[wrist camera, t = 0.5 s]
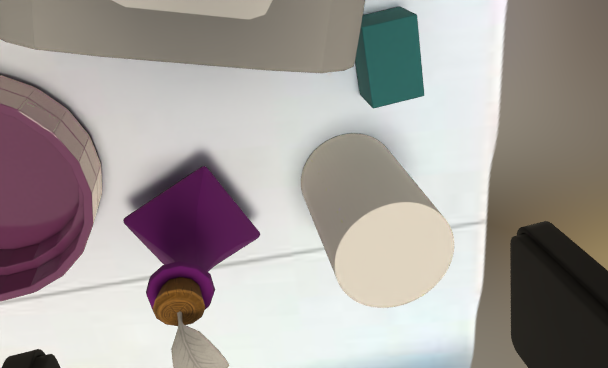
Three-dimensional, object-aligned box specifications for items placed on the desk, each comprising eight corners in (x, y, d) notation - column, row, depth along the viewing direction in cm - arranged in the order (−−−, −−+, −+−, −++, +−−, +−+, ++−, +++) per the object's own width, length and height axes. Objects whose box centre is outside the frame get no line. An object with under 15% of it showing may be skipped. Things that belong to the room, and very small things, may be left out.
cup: (295, 220, 49) (326, 308, 38) (307, 130, 45) (345, 200, 35) (385, 221, 50) (438, 306, 40) (403, 136, 47) (467, 203, 36)
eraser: (348, 18, 42) (361, 27, 39) (400, 6, 42) (417, 14, 39) (359, 94, 45) (372, 109, 42) (408, 82, 45) (424, 96, 42)
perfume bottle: (125, 199, 45) (93, 362, 29) (203, 148, 44) (214, 285, 28) (183, 262, 48) (183, 438, 32) (257, 215, 48) (293, 371, 32)
